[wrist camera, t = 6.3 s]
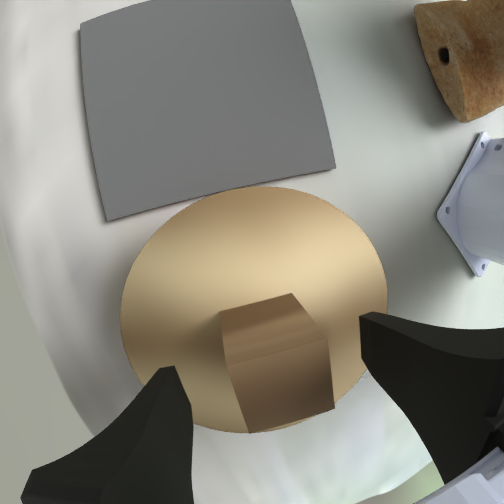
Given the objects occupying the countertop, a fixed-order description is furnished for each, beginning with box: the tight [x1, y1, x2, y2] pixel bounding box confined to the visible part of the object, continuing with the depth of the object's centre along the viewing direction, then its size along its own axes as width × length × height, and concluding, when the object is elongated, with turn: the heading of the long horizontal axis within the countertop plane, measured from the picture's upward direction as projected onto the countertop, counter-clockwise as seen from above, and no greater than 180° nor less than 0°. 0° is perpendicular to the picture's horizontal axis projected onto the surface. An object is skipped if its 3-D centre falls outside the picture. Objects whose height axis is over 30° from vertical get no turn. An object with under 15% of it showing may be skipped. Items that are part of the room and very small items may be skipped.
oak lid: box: [120, 187, 388, 434], centre depth 11 cm, size 12×12×5 cm
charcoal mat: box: [80, 0, 336, 221], centre depth 14 cm, size 13×13×1 cm
